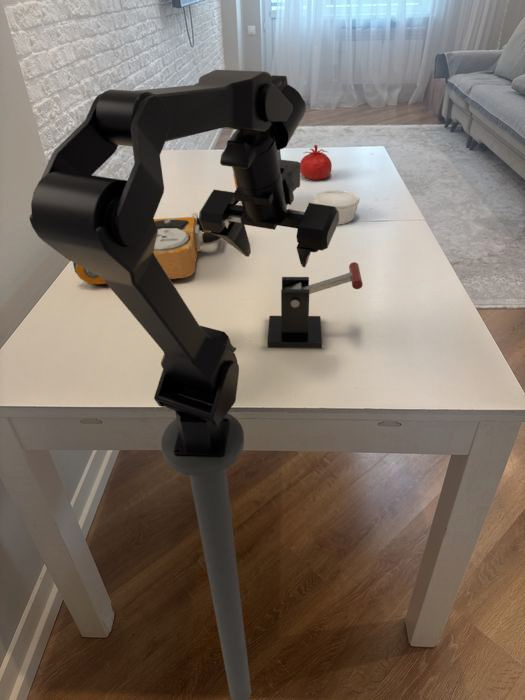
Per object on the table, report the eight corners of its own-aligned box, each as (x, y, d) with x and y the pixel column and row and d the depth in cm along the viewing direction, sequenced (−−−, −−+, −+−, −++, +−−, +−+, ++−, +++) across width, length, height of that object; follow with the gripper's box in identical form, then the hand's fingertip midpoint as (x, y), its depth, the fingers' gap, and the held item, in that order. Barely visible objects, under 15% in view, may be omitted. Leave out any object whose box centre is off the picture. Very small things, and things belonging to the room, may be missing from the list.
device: (91, 209, 111) (223, 202, 112) (100, 243, 116) (226, 236, 117) (65, 253, 93) (223, 245, 94) (77, 291, 98) (226, 283, 99)
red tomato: (310, 184, 144) (311, 152, 139) (293, 175, 152) (293, 144, 146) (338, 178, 148) (340, 146, 142) (320, 170, 155) (321, 139, 149)
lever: (360, 271, 80) (356, 258, 78) (364, 289, 75) (360, 276, 73) (289, 293, 83) (284, 281, 81) (289, 312, 78) (284, 300, 77)
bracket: (320, 321, 87) (322, 272, 81) (321, 348, 81) (324, 297, 75) (269, 321, 88) (268, 272, 82) (267, 348, 81) (265, 297, 75)
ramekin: (354, 209, 128) (356, 189, 125) (360, 226, 119) (362, 205, 116) (311, 210, 129) (312, 190, 126) (314, 227, 120) (314, 206, 117)
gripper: (349, 140, 61) (352, 230, 74) (217, 128, 67) (241, 213, 80) (321, 201, 56) (329, 287, 69) (182, 182, 63) (213, 264, 76)
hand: (276, 259), depth 74 cm, fingers open, 9 cm apart
